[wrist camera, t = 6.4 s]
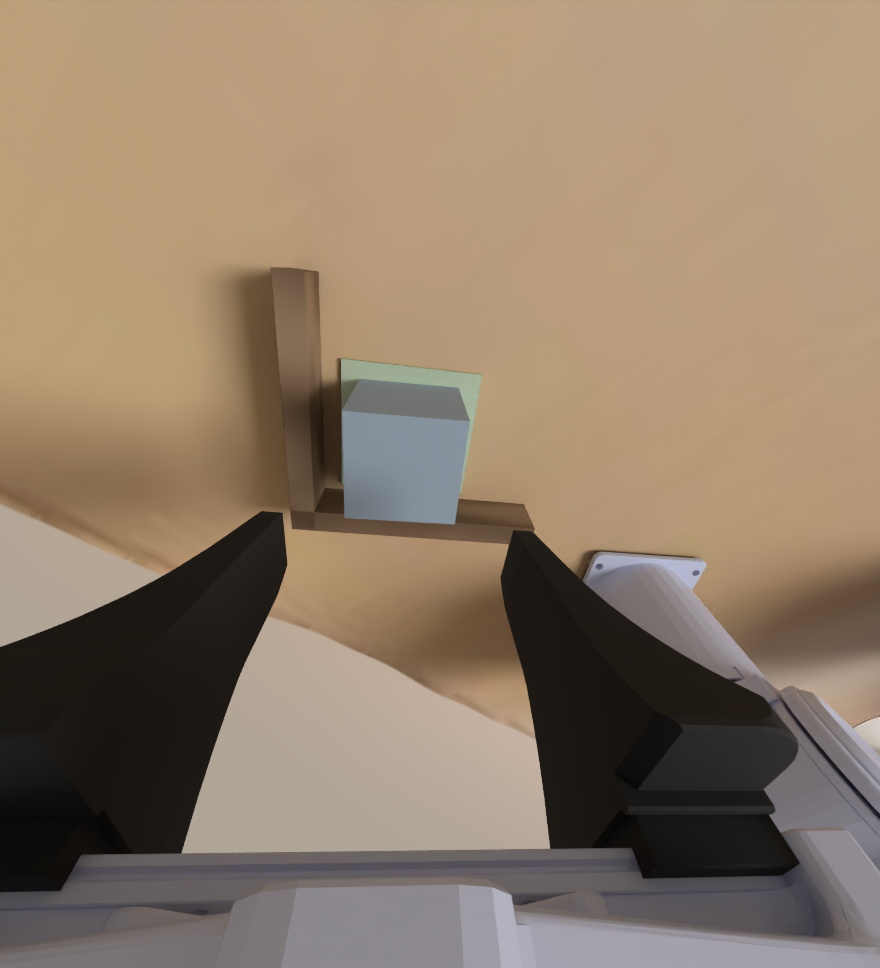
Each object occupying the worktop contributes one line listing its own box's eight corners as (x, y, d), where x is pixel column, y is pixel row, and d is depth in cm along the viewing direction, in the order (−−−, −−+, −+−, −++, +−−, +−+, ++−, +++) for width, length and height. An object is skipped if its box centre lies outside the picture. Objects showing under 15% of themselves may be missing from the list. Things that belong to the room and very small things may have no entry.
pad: (460, 492, 23) (461, 493, 22) (342, 482, 22) (341, 483, 22) (481, 374, 19) (481, 375, 19) (341, 358, 19) (341, 358, 18)
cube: (458, 387, 19) (469, 421, 15) (447, 473, 22) (454, 524, 17) (359, 378, 19) (341, 410, 15) (359, 467, 21) (344, 518, 17)
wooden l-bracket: (519, 520, 24) (529, 545, 22) (304, 503, 23) (292, 528, 20) (577, 307, 18) (599, 312, 16) (290, 267, 17) (271, 267, 14)
